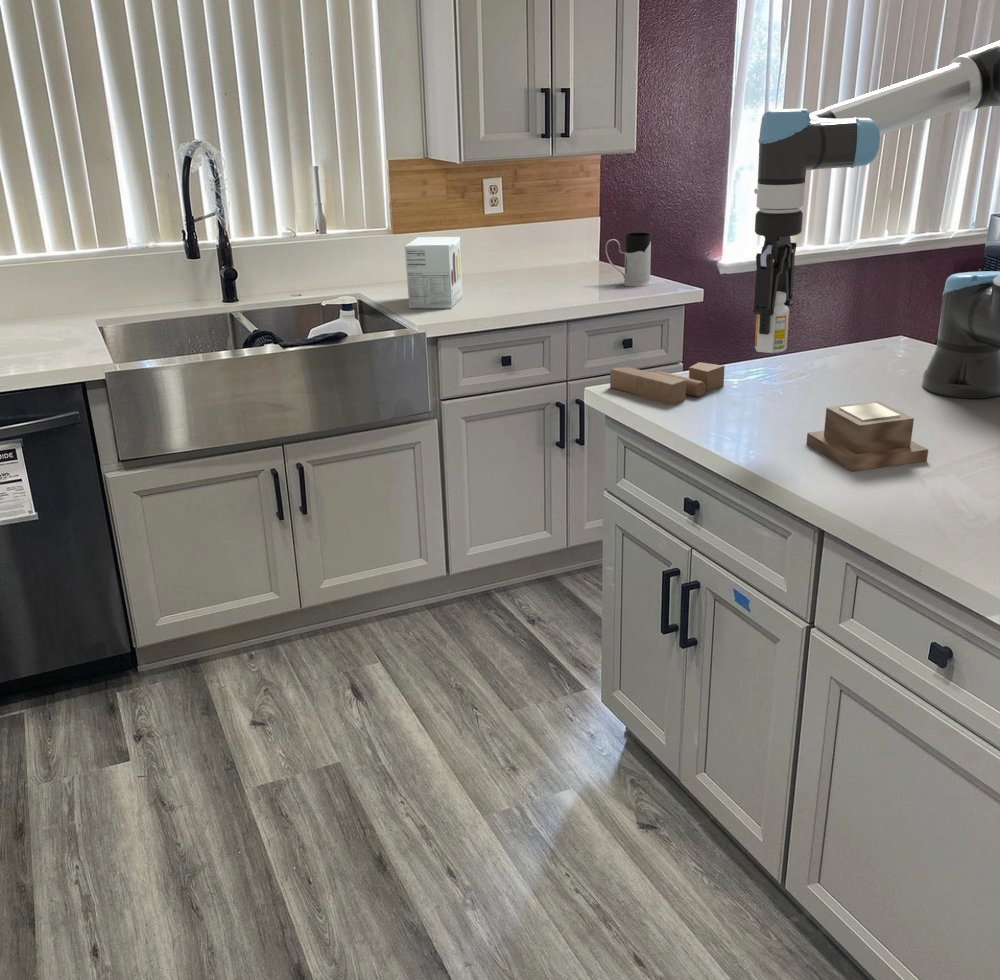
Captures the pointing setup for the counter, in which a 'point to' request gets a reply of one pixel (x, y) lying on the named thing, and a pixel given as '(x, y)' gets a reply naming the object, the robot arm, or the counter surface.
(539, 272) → the counter surface
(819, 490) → the counter surface
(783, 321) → the supplement bottle
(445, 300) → the supplement box
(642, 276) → the glass holder
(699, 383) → the wooden block set
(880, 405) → the plinth
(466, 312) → the counter surface
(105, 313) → the counter surface
